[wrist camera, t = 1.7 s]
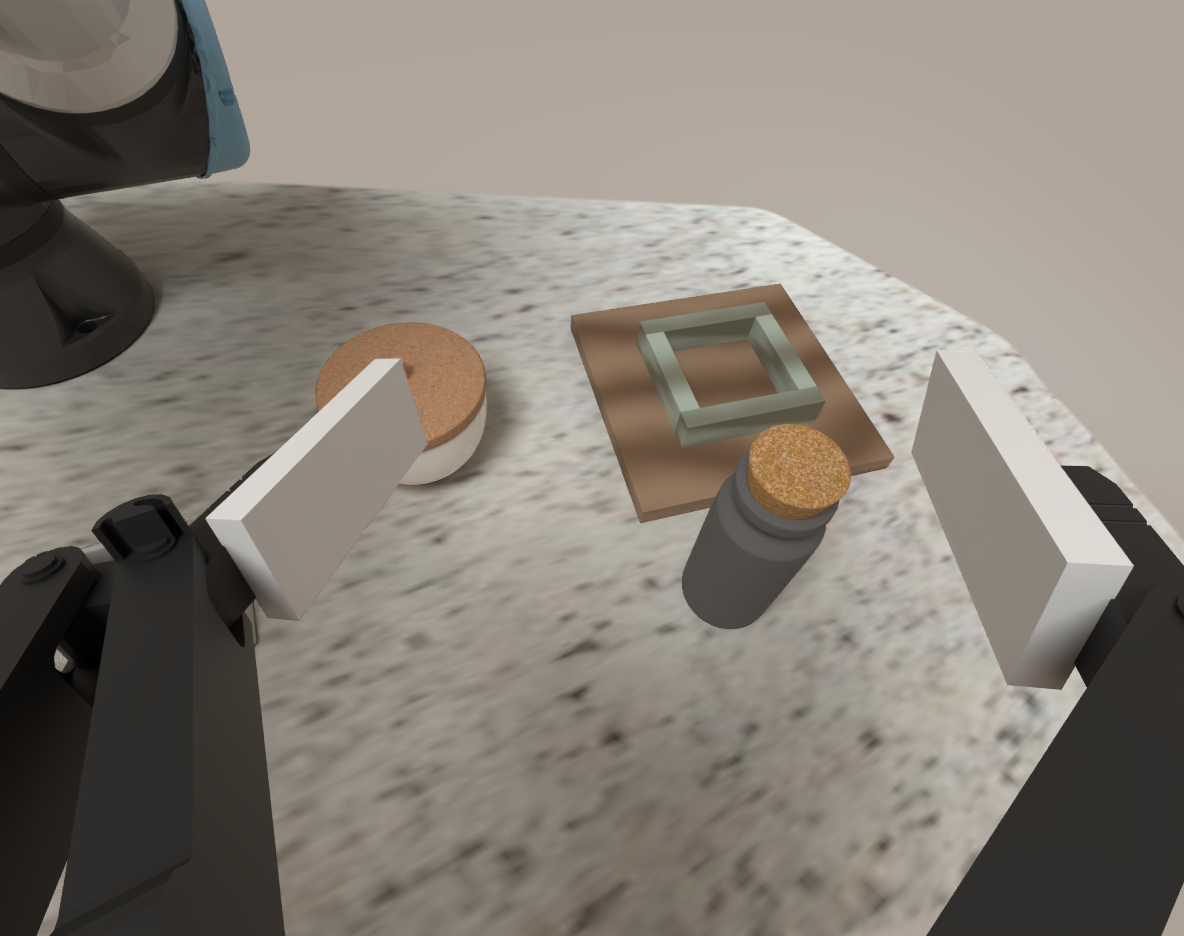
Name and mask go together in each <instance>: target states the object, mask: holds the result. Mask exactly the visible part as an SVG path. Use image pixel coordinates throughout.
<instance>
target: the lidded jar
mask: <svg viewBox="0 0 1184 936" xmlns="http://www.w3.org/2000/svg"><path fill="white" fill-rule="evenodd" d="M374 359H401V361H402V365H403V368H404V371H405V374H406V377H407V380H408V383H409V387H410V390H411V393H412V396H413V399H414V402H415V406H416V409H417V412H418V415H419V418H420V421H421V425H422V428H423V431H424V434H425V437H426V440H427V443H428V444H427V445H426V447H425V448H424V450H423V451H422V452H421V454H420V455H419V456H418V458H417V459H416V461H415V462H414V463H413V465H412V466H411V467H410V469H409V470H408V472H407V473H406V474H405V476H404V477H403V479H402V480H401V481H400V483H399V484H405V485H419V484H426V483H431V482H434V481H437V480H440V479H442V478H444V477H446V476H448V475H450V474H452V473H453V472H455V471H456V470H458V469H459V468H460V467H461V466H462V465H463V464H465V463H466V462H467V461H468V460H469V458H470V457H471V456H472V455H473V453H474V452H475V450H476V448H477V447H478V445H479V443H480V441H481V438H482V435H483V432H484V428H485V423H486V417H487V396H486V374H485V370H484V365H483V362H482V360H481V358H480V356H479V354H478V353H477V351H476V350H475V349H474V347H473V346H472V345H471V344H470V343H468V342H467V341H466V340H465V339H463V338H462V337H461V336H459V335H458V334H456V333H454V332H452V331H449V330H447V329H445V328H442V327H439V326H435V325H430V324H423V323H398V324H391V325H386V326H382V327H378V328H375V329H372V330H369V331H366V332H364V333H362V334H360V335H358V336H356V337H354V338H353V339H351V340H349V341H348V342H346V343H345V344H343V345H342V346H341V347H340V348H339V349H338V350H337V351H335V352H334V354H333V355H332V356H331V357H330V358H329V359H328V360H327V362H326V364H325V365H324V367H323V369H322V370H321V373H320V375H319V378H318V380H317V385H316V403H317V407H318V410H319V411H320V410H321V409H322V408H323V407H324V406H325V405H327V404H328V403H329V402H330V401H331V400H332V399H333V398H334V397H335V396H336V395H337V394H338V393H339V392H340V391H341V390H343V389H344V388H345V387H346V386H347V385H348V384H349V383H350V382H351V381H352V380H353V379H354V378H355V377H356V376H357V375H358V374H360V373H361V372H362V371H363V370H364V369H365V368H366V367H367V366H368V365H369V364H370V363H371V362H372V361H373V360H374Z"/></svg>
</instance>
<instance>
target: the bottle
mask: <svg viewBox="0 0 1184 936" xmlns="http://www.w3.org/2000/svg"><path fill="white" fill-rule="evenodd" d="M850 480H851V472H850V466H849V463H848V460H847V458H846V456H845V454H844V453H843V452H842V450H841V449H840V447H839V446H838V445H837V444H836V443H835V442H834V441H833V440H831V439H830V438H829V437H828V436H826V435H824V434H823V433H821V432H819V431H817V430H815V429H812V428H809V427H807V426H802V425H797V424H782V425H776V426H773V427H770V428H768V429H766V430H764V431H763V432H762V433H760V434H759V435H758V436H757V437H756V438H755V440H754V442H753V443H752V445H751V448H750V451H749V452H747V453H746V454H745V455H744V456H743V458H742V459H741V460H740V462H739V463H738V465H737V468H736V470H735V472H734V473H733V474H731V475H730V476H729V477H728V478H727V479H726V480H725V481H724V483H723V484H722V486H721V487H720V489H719V491H718V493H717V495H716V497H715V499H714V502H713V504H712V506H711V508H710V510H709V513H708V515H707V517H706V519H705V521H704V524H703V526H702V528H701V531H700V533H699V535H698V538H697V540H696V542H695V545H694V547H693V549H692V552H691V554H690V556H689V559H688V561H687V563H686V566H685V568H684V572H683V576H682V589H683V593H684V596H685V599H686V601H687V603H688V605H689V606H690V608H691V609H692V610H693V611H694V613H695V614H697V615H698V616H699V617H700V618H701V619H702V620H704V621H705V622H707V623H709V624H711V625H713V626H716V627H719V628H726V629H736V628H741V627H744V626H747V625H749V624H751V623H753V622H754V621H755V620H757V619H758V618H759V617H760V616H761V615H762V614H763V613H764V611H765V610H766V609H767V608H768V607H769V606H770V604H771V603H772V602H773V601H774V600H775V598H776V597H777V596H778V595H779V594H780V593H781V591H782V590H783V589H784V588H785V587H786V585H787V584H788V583H789V582H790V581H791V579H792V578H793V577H794V576H795V575H796V573H797V572H798V571H799V570H800V569H801V567H802V566H803V565H804V564H805V563H806V561H807V560H808V559H809V558H810V556H811V555H812V554H813V553H814V551H815V550H816V549H817V547H818V546H819V544H820V543H821V541H822V539H823V537H824V533H825V530H826V524H827V523H828V522H829V521H830V520H831V518H832V517H833V515H834V514H835V512H836V510H837V507H838V504H839V500H840V499H841V498H842V497H843V496H844V495H845V493H846V492H847V490H848V488H849V485H850Z"/></svg>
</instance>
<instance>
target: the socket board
mask: <svg viewBox="0 0 1184 936" xmlns="http://www.w3.org/2000/svg"><path fill="white" fill-rule="evenodd" d="M571 330H572V333H573V336H574V339H575V342H576V344H577V347H578V350H579V353H580V356H581V358H582V361H583V364H584V367H585V370H586V372H587V375H588V378H589V381H590V384H591V386H592V389H593V392H594V395H595V397H596V400H597V403H598V406H599V409H600V411H601V414H602V417H603V420H604V423H605V425H606V428H607V431H608V434H609V437H610V439H611V442H612V445H613V448H614V451H615V453H616V456H617V459H618V462H619V465H620V467H621V470H622V473H623V476H624V479H625V481H626V484H627V487H628V490H629V493H630V495H631V498H632V501H633V504H634V507H635V509H636V512H637V515H638V518H639V521H640V523H642V522H647V521H651V520H656V519H660V518H665V517H669V516H674V515H678V514H683V513H687V512H692V511H696V510H701V509H705V508H710V507H711V506H712V504H713V502H714V499H715V497H716V495H717V493H718V491H719V489H720V487H721V486H722V484H723V483H724V481H725V480H726V479H727V478H728V477H729V476H730V475H731V474H733V473H734V472H735V470H736V468H737V465H738V463H739V462H740V460H741V459H742V458H743V456H744V455H745V454H746V453H747V452H749V451H750V448H751V445H752V443H753V442H754V440H755V438H756V437H757V436H758V435H759V434H760V433H762V432H763V431H764V430H766V429H768V428H770V427H773V426H776V425H782V424H797V425H802V426H807V427H809V428H812V429H815V430H817V431H819V432H821V433H823V434H824V435H826V436H828V437H829V438H830V439H831V440H833V441H834V442H835V443H836V444H837V445H838V446H839V447H840V449H841V450H842V452H843V453H844V454H845V456H846V458H847V460H848V463H849V466H850V472H851V476H853V475H857V474H862V473H866V472H871V471H875V470H880V469H884V468H886V467H887V466H888V465H889V463H890V462H891V461H892V460H893V459H894V455H893V454H892V452H891V451H890V449H889V448H888V446H887V445H886V443H885V442H884V440H883V439H882V437H881V436H880V434H879V433H878V431H877V430H876V428H875V426H874V425H873V423H872V422H871V420H870V419H869V417H868V416H867V414H866V413H865V411H864V410H863V408H862V407H861V405H860V404H859V402H858V401H857V399H856V398H855V396H854V395H853V393H852V391H851V390H850V388H849V387H848V385H847V384H846V382H845V381H844V379H843V378H842V376H841V375H840V373H839V372H838V370H837V369H836V367H835V366H834V364H833V363H832V361H831V360H830V358H829V357H828V355H827V353H826V352H825V350H824V349H823V347H822V346H821V344H820V343H819V341H818V340H817V338H816V337H815V335H814V334H813V332H812V331H811V329H810V328H809V326H808V325H807V323H806V322H805V320H804V319H803V317H802V315H801V314H800V312H799V311H798V309H797V308H796V306H795V305H794V303H793V302H792V300H791V299H790V297H789V296H788V294H787V293H786V291H785V290H784V288H783V287H782V285H781V284H775V285H769V286H762V287H756V288H749V289H742V290H736V291H729V292H723V293H716V294H709V295H703V296H696V297H690V298H683V299H676V300H670V301H663V302H657V303H650V304H643V305H637V306H630V307H623V308H617V309H610V310H604V311H597V312H590V313H584V314H577V315H571Z"/></svg>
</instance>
